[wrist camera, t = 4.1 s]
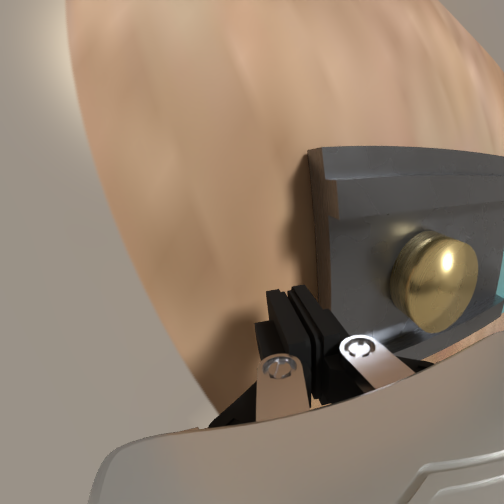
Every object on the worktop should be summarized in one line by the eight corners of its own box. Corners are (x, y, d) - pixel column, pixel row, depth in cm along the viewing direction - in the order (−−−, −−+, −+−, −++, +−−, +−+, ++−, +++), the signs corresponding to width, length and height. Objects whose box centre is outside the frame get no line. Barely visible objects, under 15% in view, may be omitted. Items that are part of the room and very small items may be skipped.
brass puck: (453, 226, 13) (482, 236, 10) (444, 301, 14) (468, 318, 12) (391, 237, 12) (422, 251, 10) (385, 322, 14) (408, 345, 12)
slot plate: (488, 155, 14) (518, 158, 11) (474, 314, 18) (496, 330, 15) (307, 150, 13) (332, 145, 10) (318, 373, 17) (334, 405, 14)
